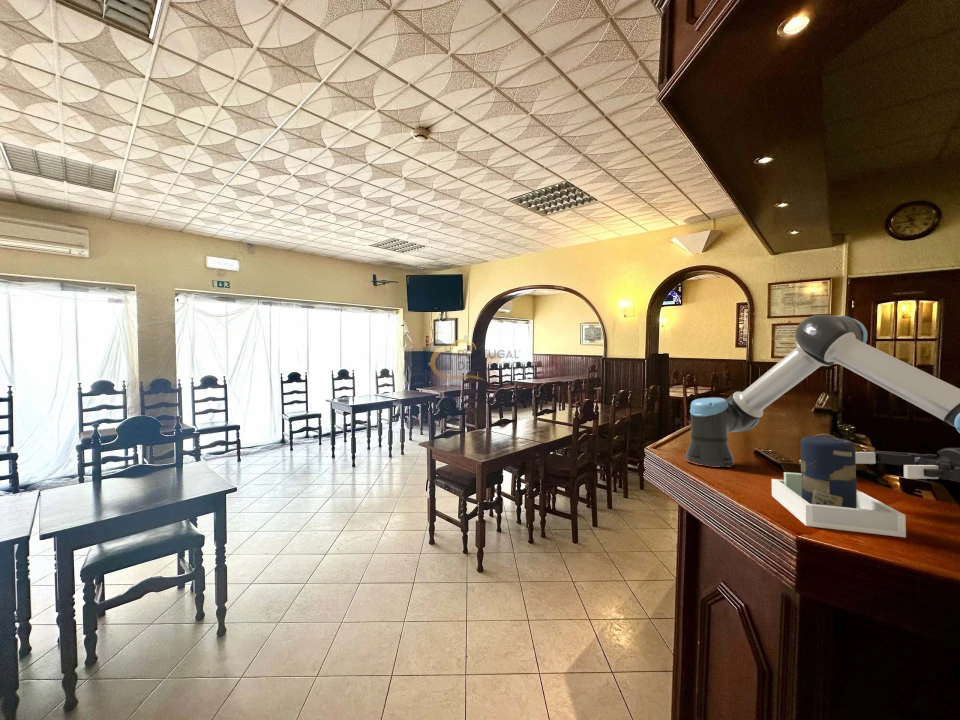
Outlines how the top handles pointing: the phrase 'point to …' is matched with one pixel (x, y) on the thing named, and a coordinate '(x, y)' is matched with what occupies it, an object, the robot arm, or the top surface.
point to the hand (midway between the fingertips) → (874, 464)
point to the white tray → (843, 513)
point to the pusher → (793, 482)
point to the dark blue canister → (828, 471)
